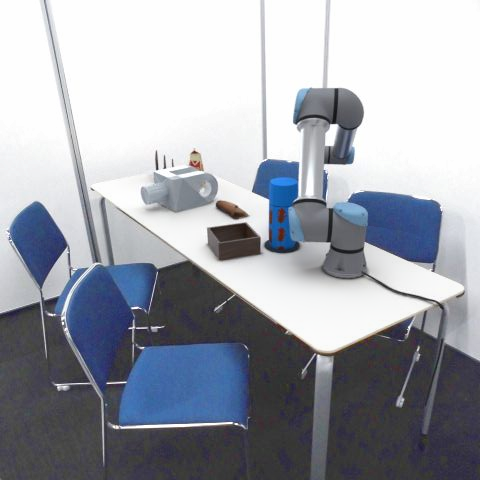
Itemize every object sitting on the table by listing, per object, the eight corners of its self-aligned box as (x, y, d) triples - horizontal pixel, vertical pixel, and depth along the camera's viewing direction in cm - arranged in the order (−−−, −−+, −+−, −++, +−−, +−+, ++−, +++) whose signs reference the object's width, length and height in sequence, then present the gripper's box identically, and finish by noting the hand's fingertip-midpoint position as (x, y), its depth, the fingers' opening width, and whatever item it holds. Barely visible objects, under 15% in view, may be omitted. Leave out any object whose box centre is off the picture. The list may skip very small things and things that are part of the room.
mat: (305, 249, 183) (305, 248, 183) (272, 255, 180) (272, 253, 180) (291, 236, 195) (291, 235, 194) (259, 241, 191) (259, 240, 191)
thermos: (294, 250, 182) (297, 186, 168) (266, 248, 184) (267, 185, 170) (296, 239, 191) (300, 177, 177) (270, 238, 192) (271, 176, 179)
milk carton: (204, 187, 254) (202, 148, 243) (187, 187, 254) (184, 149, 243) (206, 182, 262) (203, 144, 251) (189, 182, 262) (186, 145, 251)
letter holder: (157, 182, 263) (154, 156, 255) (157, 172, 279) (155, 148, 271) (174, 181, 263) (172, 155, 256) (174, 172, 280) (172, 147, 272)
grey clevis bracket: (198, 191, 247) (196, 162, 239) (218, 201, 234) (217, 170, 226) (138, 206, 230) (133, 175, 222) (156, 216, 217) (152, 184, 209)
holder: (260, 254, 181) (260, 237, 177) (219, 260, 177) (218, 243, 173) (246, 238, 194) (246, 222, 191) (207, 243, 190) (206, 227, 186)
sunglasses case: (250, 214, 216) (243, 203, 211) (238, 224, 215) (232, 214, 210) (230, 203, 229) (223, 193, 224) (219, 213, 228) (213, 203, 224)
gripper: (331, 195, 200) (320, 212, 183) (275, 190, 207) (259, 205, 191) (333, 178, 195) (321, 193, 179) (276, 173, 203) (259, 187, 187)
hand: (289, 199), depth 185 cm, fingers open, 13 cm apart
